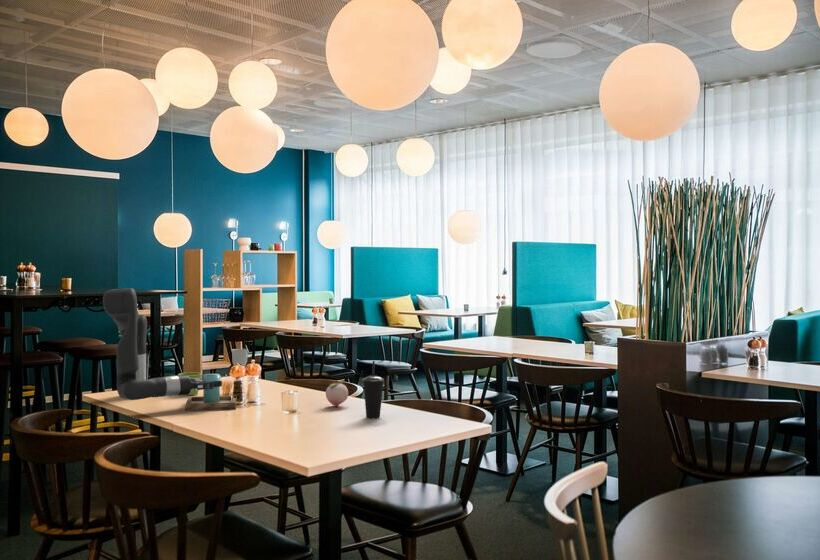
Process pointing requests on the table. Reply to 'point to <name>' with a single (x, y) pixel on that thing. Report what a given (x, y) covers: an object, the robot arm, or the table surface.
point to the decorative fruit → (336, 393)
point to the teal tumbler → (214, 393)
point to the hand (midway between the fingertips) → (216, 382)
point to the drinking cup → (373, 394)
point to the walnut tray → (210, 404)
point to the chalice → (239, 356)
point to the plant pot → (192, 375)
